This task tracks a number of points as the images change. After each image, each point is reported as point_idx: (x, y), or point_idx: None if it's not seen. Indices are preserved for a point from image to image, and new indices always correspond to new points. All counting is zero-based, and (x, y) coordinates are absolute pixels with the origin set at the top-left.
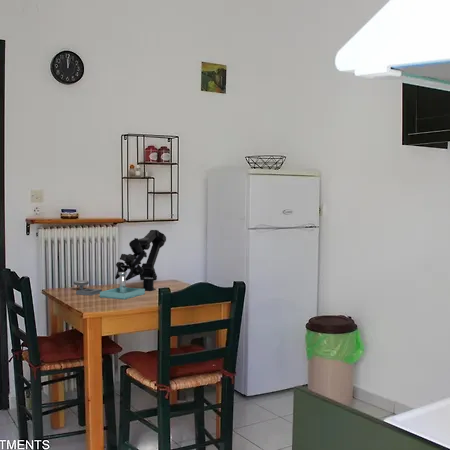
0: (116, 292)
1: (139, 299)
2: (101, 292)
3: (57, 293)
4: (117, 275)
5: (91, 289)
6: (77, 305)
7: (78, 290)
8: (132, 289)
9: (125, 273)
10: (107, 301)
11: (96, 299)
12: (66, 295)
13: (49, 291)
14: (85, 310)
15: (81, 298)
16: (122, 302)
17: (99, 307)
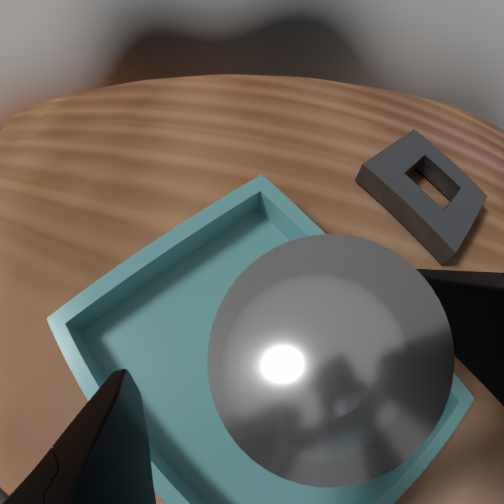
0: None
1: (44, 434)
2: (248, 185)
3: (437, 114)
4: (442, 294)
5: (456, 199)
6: (99, 99)
7: (422, 139)
8: (368, 501)
9: (223, 422)
10: (90, 211)
11: (200, 174)
12: (388, 114)
13: (473, 118)
14: (10, 121)
15: (277, 126)
16: (12, 279)
17: (6, 158)
